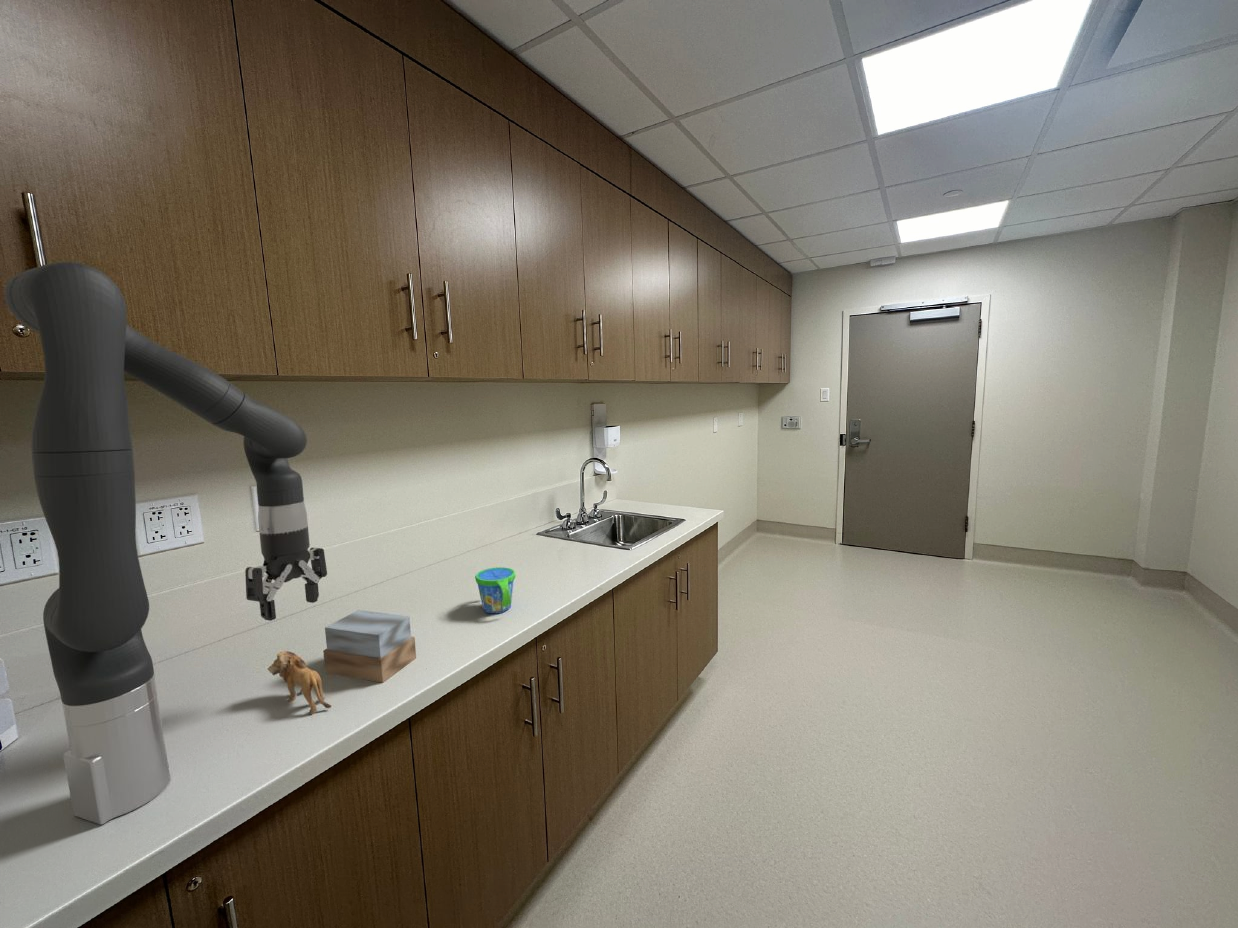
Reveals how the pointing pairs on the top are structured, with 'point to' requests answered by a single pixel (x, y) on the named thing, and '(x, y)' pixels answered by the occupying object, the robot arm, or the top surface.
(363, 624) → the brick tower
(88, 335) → the robot arm
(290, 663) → the lion figurine
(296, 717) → the top surface
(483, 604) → the snack cup
